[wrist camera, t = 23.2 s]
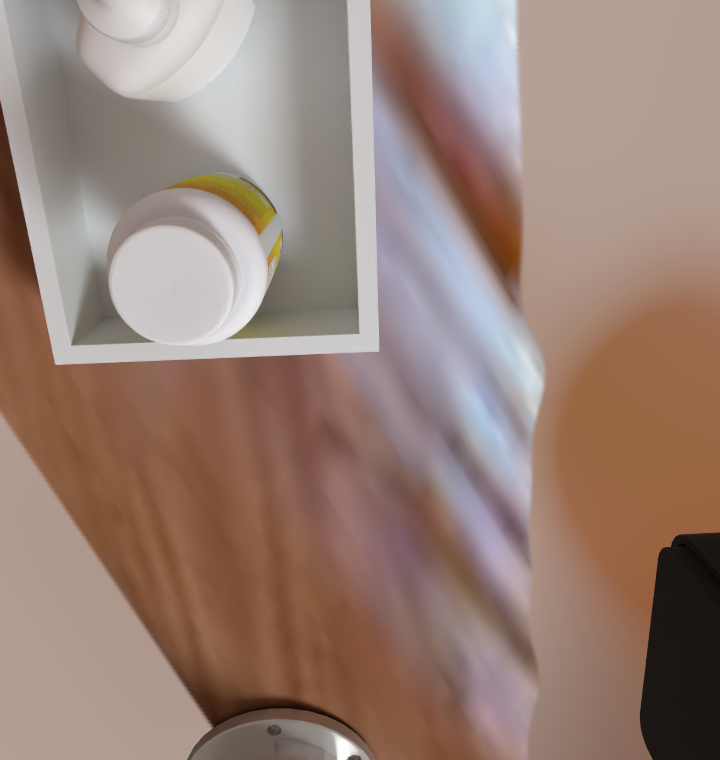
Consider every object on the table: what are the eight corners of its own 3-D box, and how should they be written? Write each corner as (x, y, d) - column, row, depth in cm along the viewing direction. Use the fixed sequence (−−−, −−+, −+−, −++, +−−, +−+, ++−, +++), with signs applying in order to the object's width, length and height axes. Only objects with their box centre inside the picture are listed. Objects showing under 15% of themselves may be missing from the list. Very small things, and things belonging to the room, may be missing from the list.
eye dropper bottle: (278, 70, 29) (238, 38, 17) (153, 111, 29) (35, 105, 18) (243, -46, 27) (173, -163, 16) (111, -1, 27) (-47, -84, 16)
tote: (373, 318, 33) (379, 351, 29) (95, 330, 33) (55, 364, 29) (361, -109, 27) (365, -156, 22) (17, -97, 27) (-51, -142, 22)
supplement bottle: (146, 182, 30) (55, 211, 20) (270, 160, 30) (237, 180, 20) (179, 303, 32) (110, 382, 22) (295, 284, 32) (275, 355, 22)
